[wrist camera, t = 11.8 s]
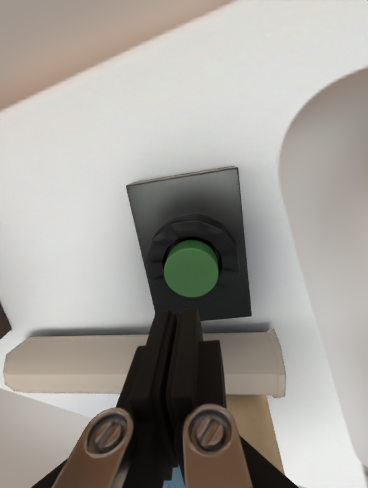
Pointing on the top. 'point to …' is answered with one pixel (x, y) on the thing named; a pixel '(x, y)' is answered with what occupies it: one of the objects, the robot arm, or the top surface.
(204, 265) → the button
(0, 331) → the dial block
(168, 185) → the button housing
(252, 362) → the tube
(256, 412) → the candle
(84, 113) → the top surface
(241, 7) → the top surface
